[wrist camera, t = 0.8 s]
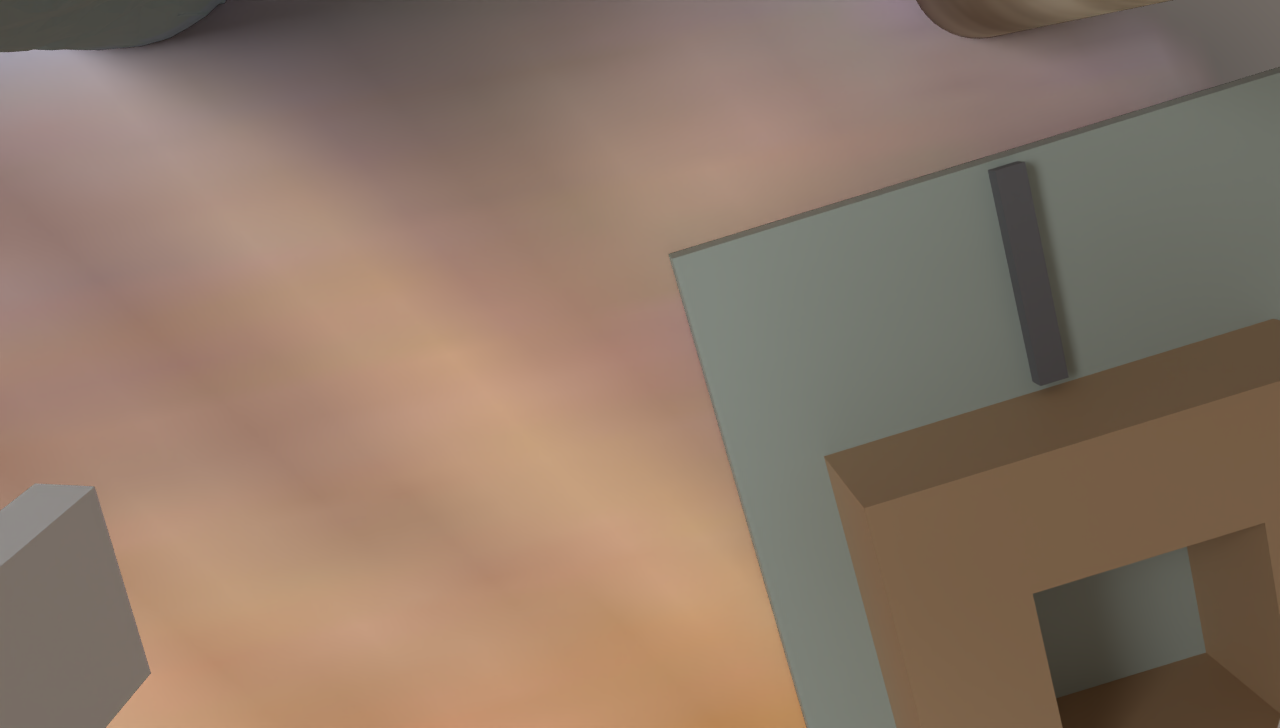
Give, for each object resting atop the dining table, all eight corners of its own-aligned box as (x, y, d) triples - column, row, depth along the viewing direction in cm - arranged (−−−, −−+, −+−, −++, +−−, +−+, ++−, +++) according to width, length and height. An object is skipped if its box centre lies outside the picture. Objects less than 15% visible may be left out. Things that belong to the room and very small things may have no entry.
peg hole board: (668, 254, 28) (689, 281, 23) (1302, 59, 28) (1456, 46, 23) (887, 1005, 34) (941, 1151, 29) (1409, 845, 34) (1548, 965, 29)
